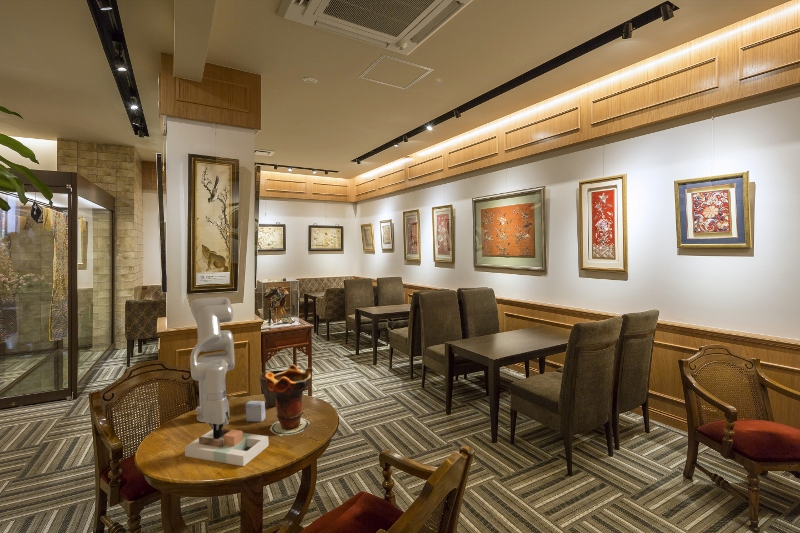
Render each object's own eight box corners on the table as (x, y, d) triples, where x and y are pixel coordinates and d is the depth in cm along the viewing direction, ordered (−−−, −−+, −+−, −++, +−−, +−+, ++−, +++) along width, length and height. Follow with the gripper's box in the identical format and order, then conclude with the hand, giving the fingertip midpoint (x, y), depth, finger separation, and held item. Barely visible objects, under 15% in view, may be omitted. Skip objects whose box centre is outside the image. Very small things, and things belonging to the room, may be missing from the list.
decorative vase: (322, 416, 193) (319, 361, 190) (297, 441, 171) (293, 379, 168) (285, 412, 199) (282, 358, 196) (257, 435, 177) (252, 376, 174)
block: (224, 444, 160) (223, 435, 160) (232, 438, 165) (232, 429, 165) (234, 446, 159) (234, 436, 158) (242, 440, 163) (242, 430, 163)
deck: (185, 456, 159) (184, 446, 159) (214, 437, 175) (213, 428, 174) (243, 466, 151) (243, 456, 151) (268, 445, 167) (268, 436, 166)
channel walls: (199, 443, 161) (198, 437, 161) (215, 433, 170) (215, 427, 170) (221, 447, 158) (221, 441, 158) (237, 436, 167) (236, 430, 167)
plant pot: (268, 397, 219) (267, 369, 218) (294, 399, 217) (293, 370, 216) (255, 409, 204) (254, 379, 203) (282, 410, 202) (281, 379, 201)
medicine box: (265, 418, 194) (265, 400, 193) (261, 422, 189) (261, 404, 189) (250, 417, 194) (249, 400, 194) (246, 421, 190) (245, 404, 189)
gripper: (194, 396, 161) (196, 439, 163) (224, 400, 157) (226, 444, 159) (207, 389, 169) (209, 431, 170) (237, 393, 165) (238, 435, 166)
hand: (217, 437), depth 164 cm, fingers closed
